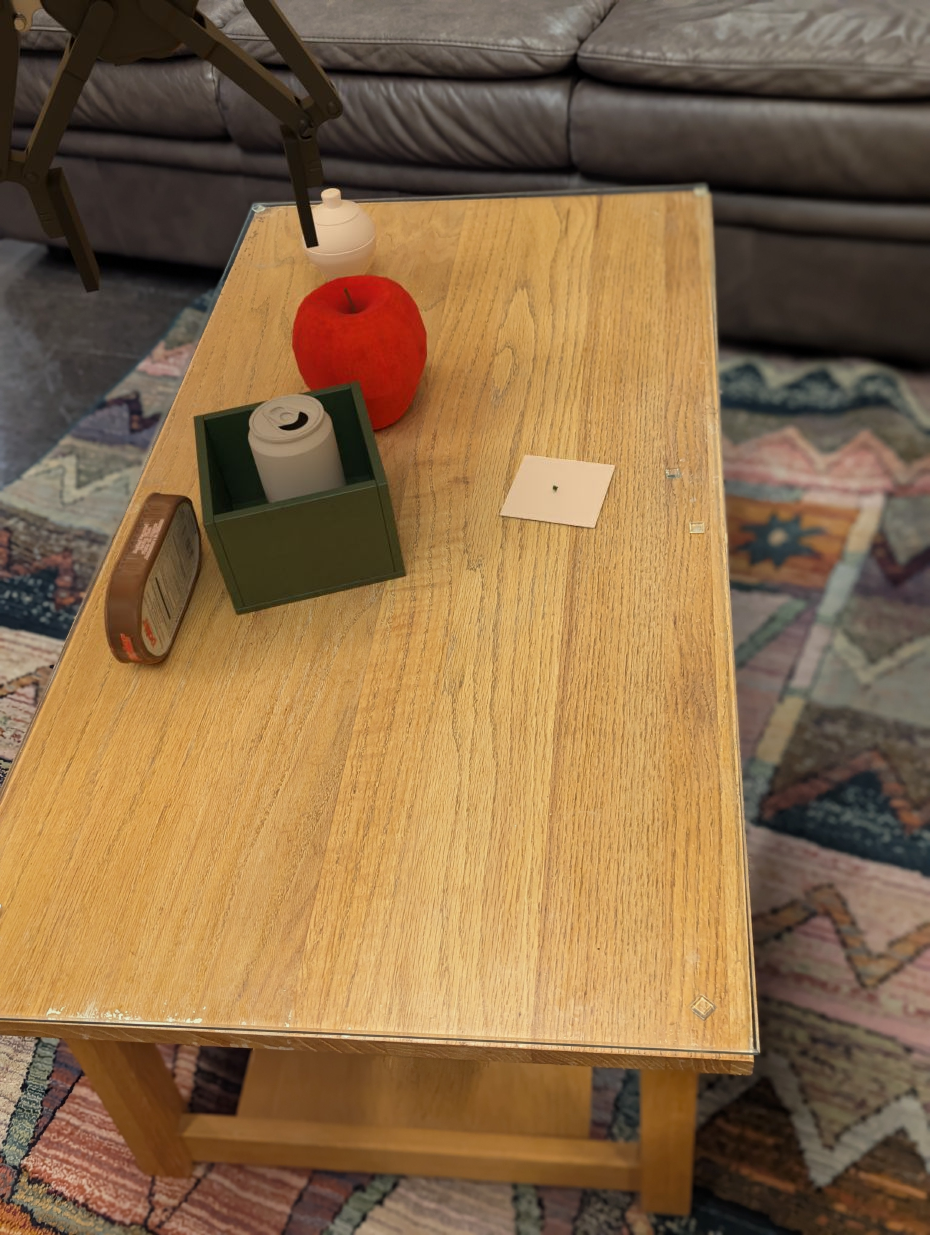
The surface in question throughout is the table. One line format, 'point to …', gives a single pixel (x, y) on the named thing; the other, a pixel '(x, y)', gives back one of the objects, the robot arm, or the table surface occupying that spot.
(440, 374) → the table surface
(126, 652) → the tin
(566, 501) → the coaster
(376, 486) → the waste bin
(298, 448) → the beverage can
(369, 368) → the apple
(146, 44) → the robot arm
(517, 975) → the table surface
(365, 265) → the spinning top
